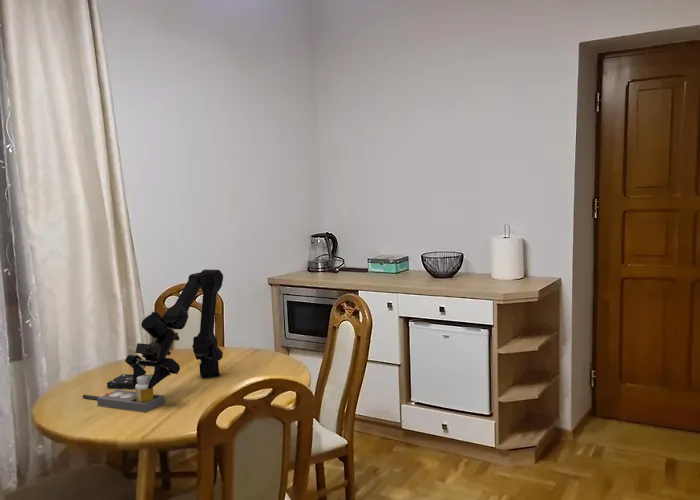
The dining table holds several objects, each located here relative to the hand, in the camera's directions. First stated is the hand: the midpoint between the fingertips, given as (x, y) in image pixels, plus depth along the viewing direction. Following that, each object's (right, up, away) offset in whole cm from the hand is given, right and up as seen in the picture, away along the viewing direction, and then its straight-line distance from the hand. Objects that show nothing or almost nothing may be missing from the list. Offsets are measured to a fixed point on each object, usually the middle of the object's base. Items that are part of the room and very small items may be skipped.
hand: (141, 387), depth 203 cm
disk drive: (-11, -5, +26) cm, 29 cm away
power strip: (-10, -6, +7) cm, 13 cm away
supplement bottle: (+1, -7, +2) cm, 7 cm away
